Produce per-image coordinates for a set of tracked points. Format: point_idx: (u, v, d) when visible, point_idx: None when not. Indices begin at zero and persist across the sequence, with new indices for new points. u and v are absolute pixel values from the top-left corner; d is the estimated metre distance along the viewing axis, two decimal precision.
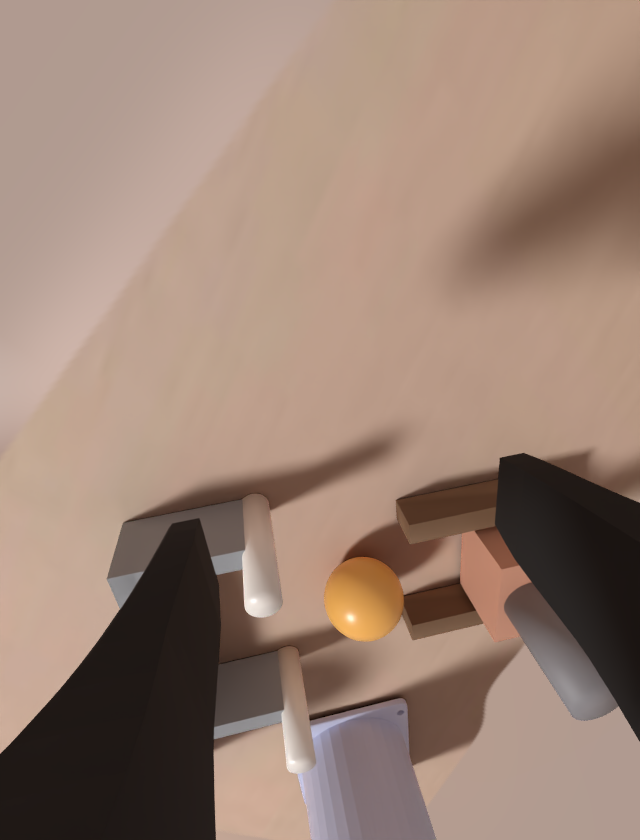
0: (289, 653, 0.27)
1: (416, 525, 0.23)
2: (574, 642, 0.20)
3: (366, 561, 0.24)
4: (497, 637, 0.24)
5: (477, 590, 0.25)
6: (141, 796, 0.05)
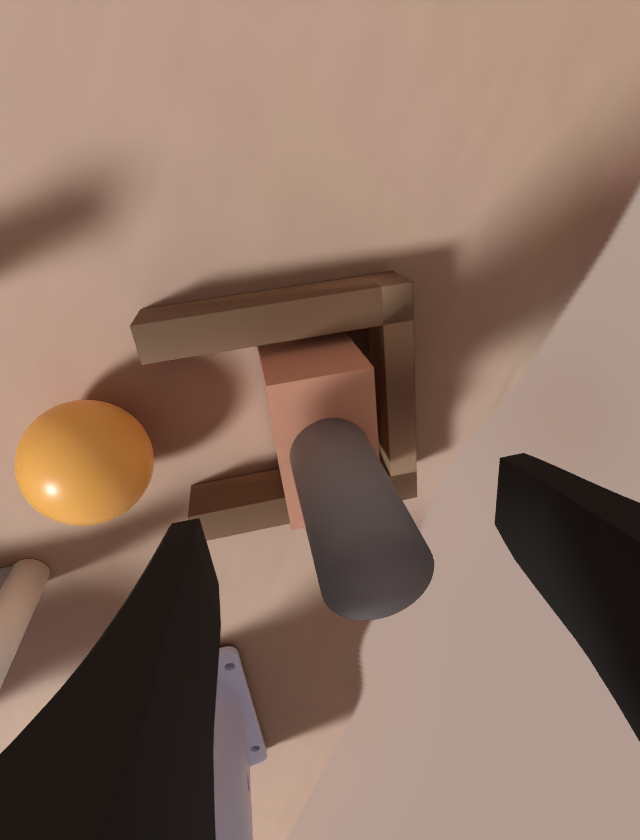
0: (24, 567, 0.18)
1: (144, 328, 0.14)
2: (352, 482, 0.11)
3: (85, 400, 0.15)
4: (294, 521, 0.15)
5: None
6: (141, 796, 0.05)
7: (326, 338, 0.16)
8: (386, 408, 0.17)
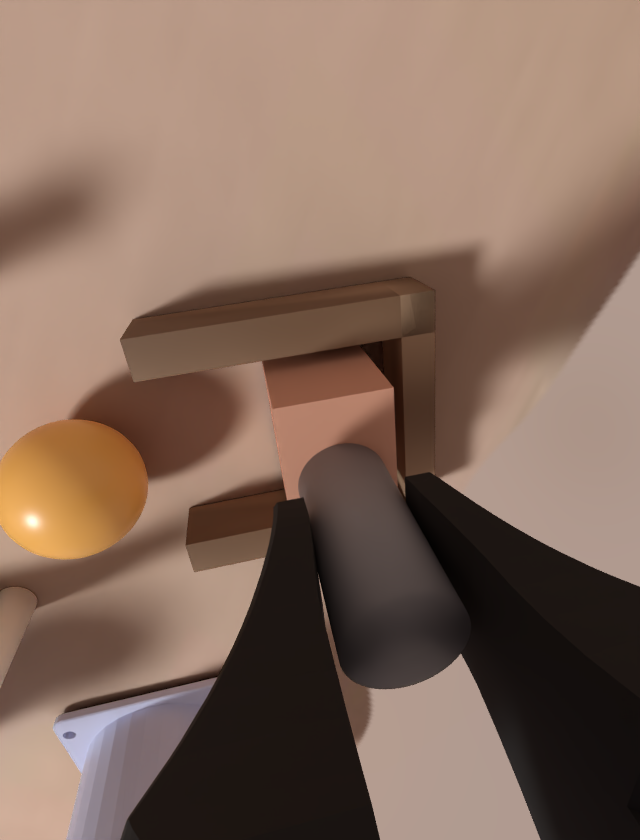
0: (9, 597, 0.17)
1: (136, 342, 0.12)
2: (374, 526, 0.09)
3: (72, 420, 0.14)
4: None
5: (284, 482, 0.15)
6: None
7: (337, 350, 0.14)
8: (403, 427, 0.15)
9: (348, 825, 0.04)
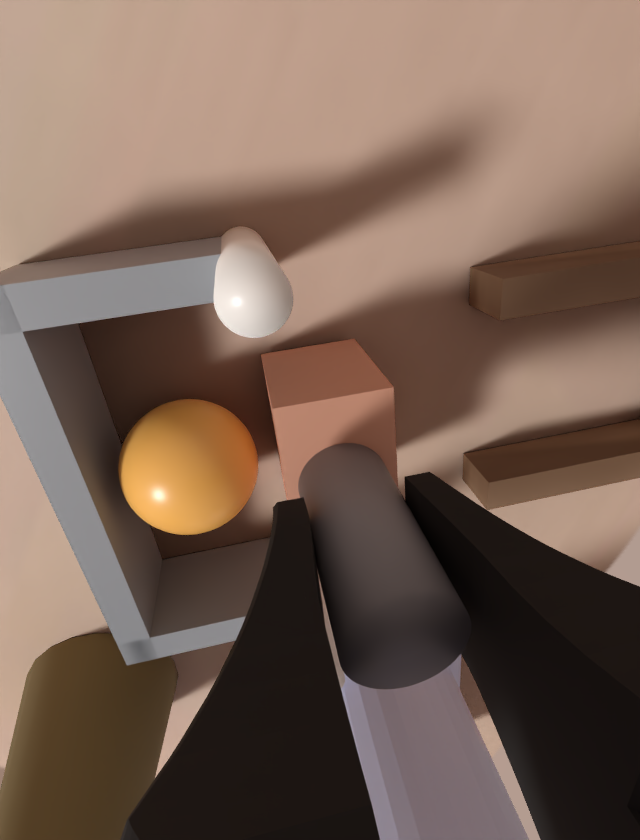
0: None
1: (513, 282, 0.14)
2: (374, 526, 0.09)
3: (152, 419, 0.13)
4: None
5: None
6: None
7: (337, 350, 0.14)
8: None
9: (348, 825, 0.04)
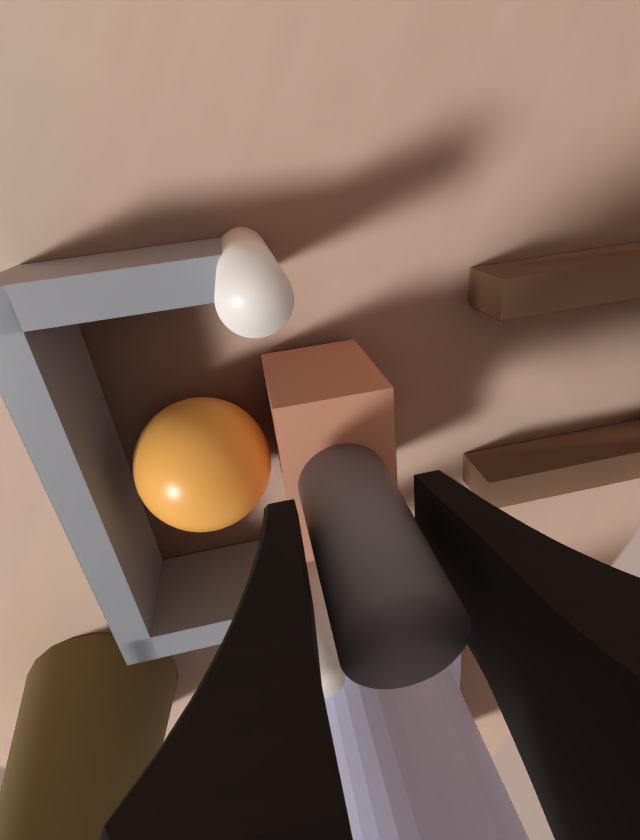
0: None
1: (513, 282, 0.14)
2: (373, 526, 0.09)
3: (169, 418, 0.13)
4: None
5: None
6: None
7: (337, 350, 0.14)
8: None
9: (323, 832, 0.04)
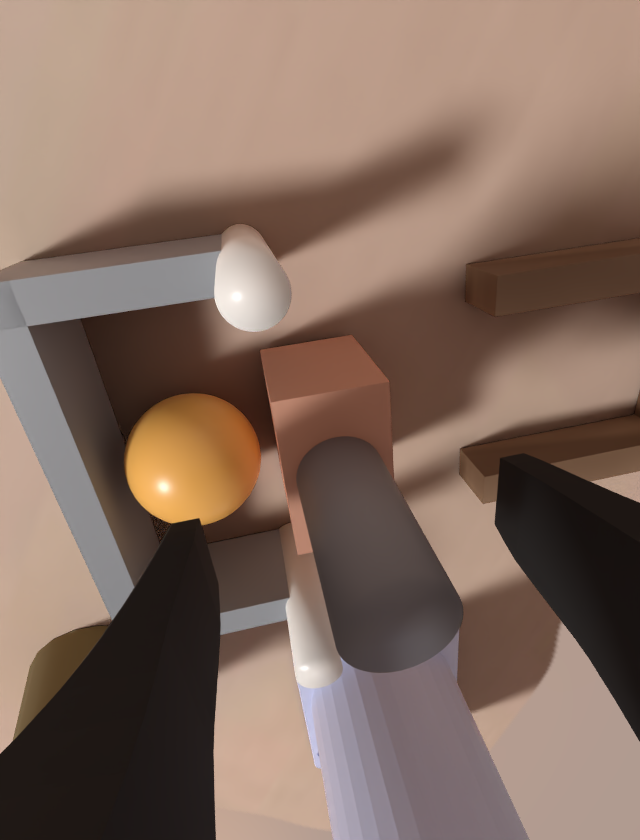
0: None
1: (508, 279, 0.14)
2: (369, 515, 0.10)
3: (158, 413, 0.13)
4: (300, 546, 0.14)
5: None
6: (141, 796, 0.05)
7: (335, 346, 0.15)
8: None
9: None
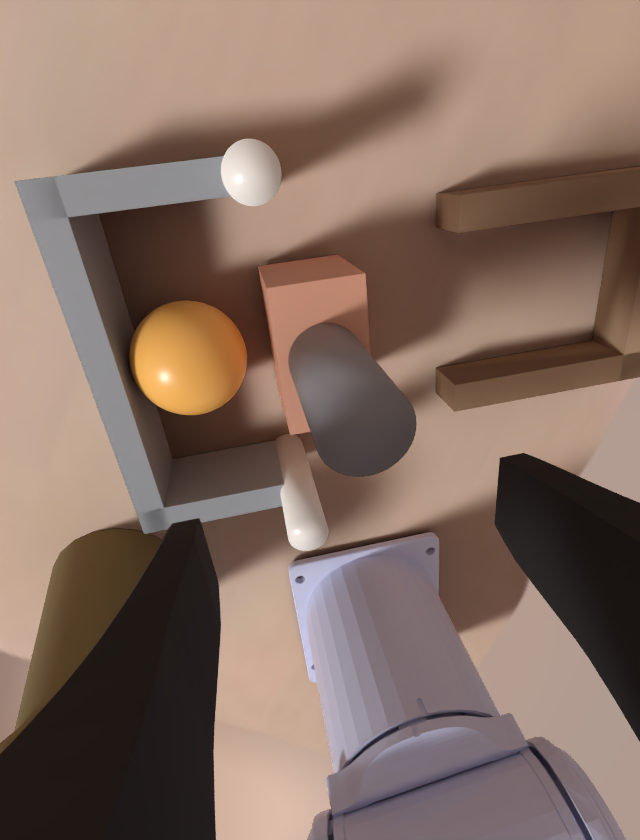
0: (291, 439, 0.21)
1: (469, 198, 0.16)
2: (344, 358, 0.12)
3: (157, 310, 0.16)
4: (292, 426, 0.16)
5: (277, 373, 0.17)
6: (141, 796, 0.05)
7: (322, 260, 0.17)
8: (635, 287, 0.19)
9: None
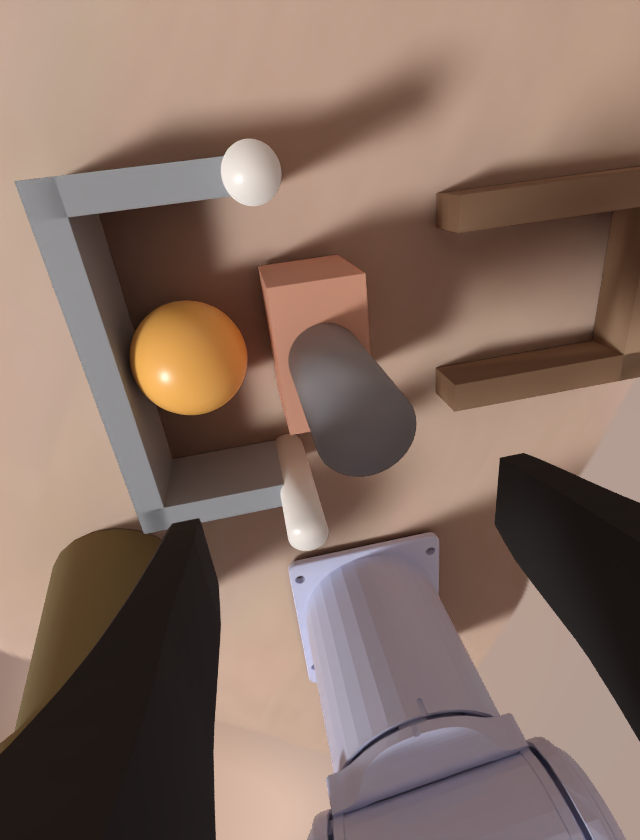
0: (291, 439, 0.21)
1: (469, 198, 0.16)
2: (344, 358, 0.12)
3: (157, 310, 0.16)
4: (292, 426, 0.16)
5: (277, 373, 0.17)
6: (141, 796, 0.05)
7: (322, 260, 0.17)
8: (635, 287, 0.19)
9: None
